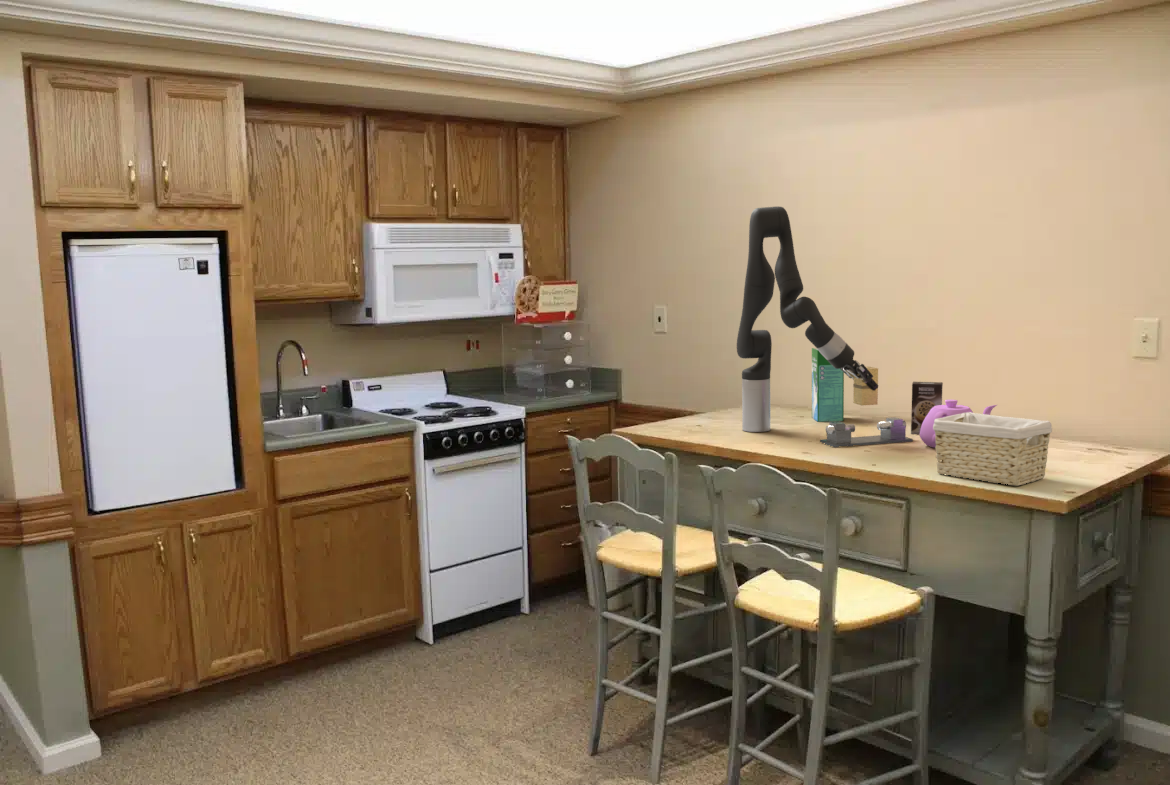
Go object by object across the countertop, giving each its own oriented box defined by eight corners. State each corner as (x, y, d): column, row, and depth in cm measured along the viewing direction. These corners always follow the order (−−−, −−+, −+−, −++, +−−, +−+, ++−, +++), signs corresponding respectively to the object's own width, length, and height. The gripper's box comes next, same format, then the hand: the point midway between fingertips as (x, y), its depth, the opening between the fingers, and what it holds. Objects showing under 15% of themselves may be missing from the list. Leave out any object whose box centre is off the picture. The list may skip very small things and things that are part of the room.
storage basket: (929, 474, 246) (930, 418, 244) (964, 465, 256) (965, 410, 254) (1018, 490, 227) (1020, 429, 225) (1053, 479, 237) (1055, 420, 235)
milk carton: (843, 421, 329) (844, 349, 326) (817, 421, 330) (817, 349, 326) (837, 417, 338) (837, 346, 335) (811, 417, 338) (811, 347, 335)
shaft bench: (833, 447, 284) (833, 425, 283) (819, 442, 293) (819, 421, 292) (912, 441, 290) (912, 420, 289) (896, 436, 298) (897, 415, 297)
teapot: (982, 457, 264) (983, 408, 262) (906, 449, 278) (906, 402, 277) (1009, 445, 280) (1011, 398, 278) (937, 437, 294) (937, 393, 293)
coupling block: (861, 405, 286) (862, 369, 285) (853, 403, 292) (853, 367, 290) (877, 404, 288) (878, 368, 286) (869, 402, 293) (869, 366, 291)
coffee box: (910, 434, 302) (911, 383, 300) (911, 430, 308) (912, 381, 305) (941, 435, 298) (942, 384, 296) (941, 431, 304) (942, 381, 302)
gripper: (854, 342, 278) (891, 380, 282) (832, 338, 292) (867, 375, 296) (837, 361, 278) (874, 399, 282) (816, 356, 292) (851, 393, 296)
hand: (870, 387), depth 289 cm, fingers closed on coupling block, 5 cm apart
